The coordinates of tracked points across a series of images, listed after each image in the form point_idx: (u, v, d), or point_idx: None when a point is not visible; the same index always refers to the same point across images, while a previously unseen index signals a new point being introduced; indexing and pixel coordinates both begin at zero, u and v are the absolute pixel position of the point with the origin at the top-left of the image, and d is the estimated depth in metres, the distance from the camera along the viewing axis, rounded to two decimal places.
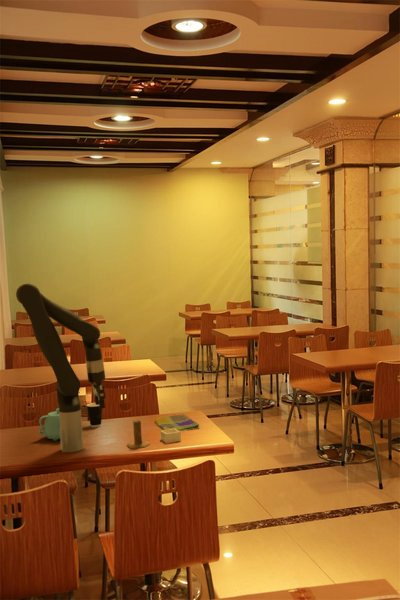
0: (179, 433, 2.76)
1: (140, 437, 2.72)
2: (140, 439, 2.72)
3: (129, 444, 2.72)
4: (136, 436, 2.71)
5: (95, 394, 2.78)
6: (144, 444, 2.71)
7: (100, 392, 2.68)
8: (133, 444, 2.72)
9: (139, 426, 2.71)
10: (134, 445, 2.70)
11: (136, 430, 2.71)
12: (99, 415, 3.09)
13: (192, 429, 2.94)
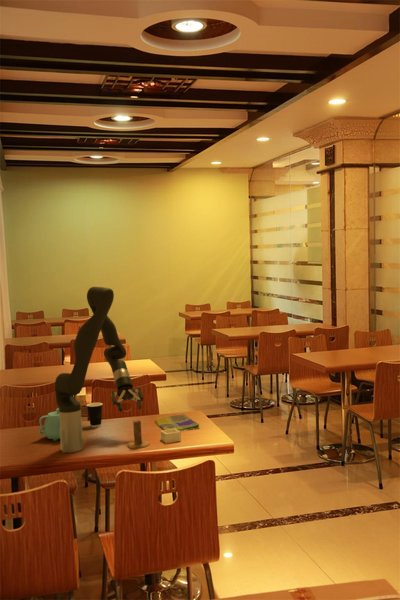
0: (179, 433, 2.76)
1: (140, 437, 2.72)
2: (140, 439, 2.72)
3: (129, 444, 2.72)
4: (136, 436, 2.71)
5: (120, 400, 2.82)
6: (144, 444, 2.71)
7: None
8: (133, 444, 2.72)
9: (139, 426, 2.71)
10: (134, 445, 2.70)
11: (136, 430, 2.71)
12: (99, 415, 3.09)
13: (192, 429, 2.94)
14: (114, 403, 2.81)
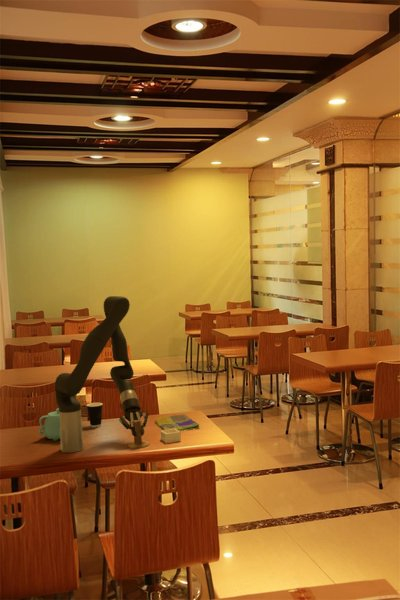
0: (179, 433, 2.76)
1: (140, 437, 2.72)
2: (140, 439, 2.72)
3: (129, 444, 2.72)
4: (136, 436, 2.71)
5: None
6: (144, 444, 2.71)
7: None
8: (133, 444, 2.72)
9: (139, 426, 2.71)
10: (134, 445, 2.70)
11: (136, 430, 2.71)
12: (99, 415, 3.09)
13: (192, 429, 2.94)
14: (128, 427, 2.72)
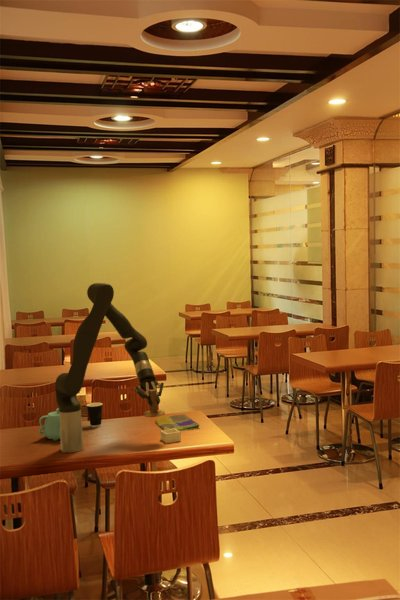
0: (179, 433, 2.76)
1: (156, 406, 2.74)
2: (156, 408, 2.74)
3: (145, 413, 2.75)
4: (152, 405, 2.74)
5: None
6: (160, 413, 2.74)
7: (162, 388, 2.79)
8: (149, 413, 2.75)
9: (155, 395, 2.74)
10: (150, 414, 2.73)
11: (152, 399, 2.74)
12: (99, 415, 3.09)
13: (192, 429, 2.94)
14: (143, 397, 2.75)
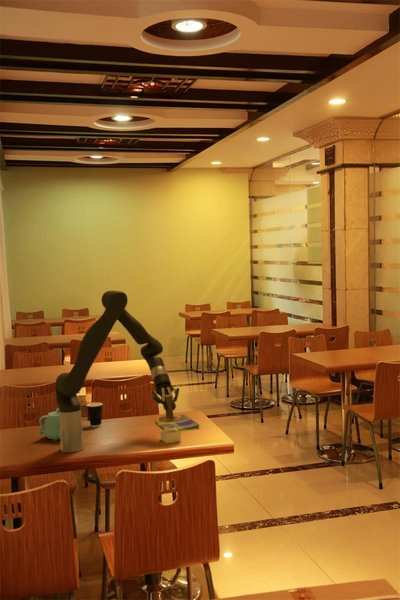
0: (179, 433, 2.76)
1: (171, 411, 2.77)
2: (171, 413, 2.77)
3: (161, 418, 2.77)
4: (168, 410, 2.76)
5: None
6: (175, 418, 2.76)
7: None
8: (165, 418, 2.77)
9: (170, 400, 2.76)
10: (166, 419, 2.75)
11: (168, 404, 2.76)
12: (99, 415, 3.09)
13: (192, 429, 2.94)
14: (159, 402, 2.77)
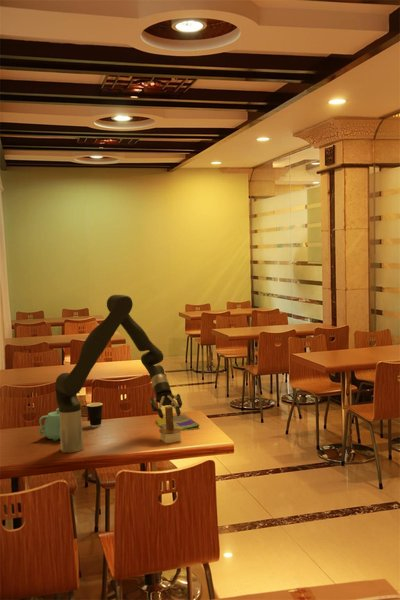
0: (179, 433, 2.76)
1: (172, 423, 2.77)
2: (172, 425, 2.77)
3: (161, 430, 2.78)
4: (168, 422, 2.76)
5: None
6: (176, 430, 2.76)
7: None
8: (165, 430, 2.77)
9: (171, 412, 2.77)
10: (166, 431, 2.76)
11: (168, 416, 2.76)
12: (99, 415, 3.09)
13: (192, 429, 2.94)
14: (154, 410, 2.77)
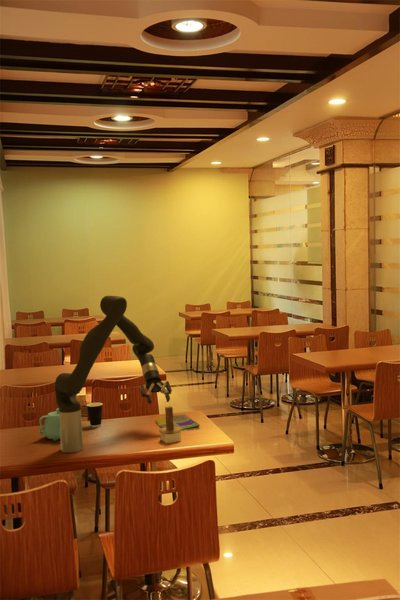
0: (179, 433, 2.76)
1: (172, 423, 2.77)
2: (172, 425, 2.77)
3: (161, 430, 2.78)
4: (168, 422, 2.76)
5: (149, 393, 2.90)
6: (176, 430, 2.76)
7: None
8: (165, 430, 2.77)
9: (171, 412, 2.77)
10: (166, 431, 2.76)
11: (168, 416, 2.76)
12: (99, 415, 3.09)
13: (192, 429, 2.94)
14: (143, 395, 2.89)
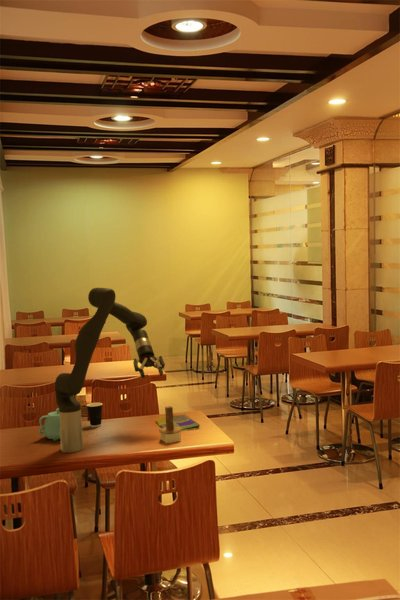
0: (179, 433, 2.76)
1: (172, 423, 2.77)
2: (172, 425, 2.77)
3: (161, 430, 2.78)
4: (168, 422, 2.76)
5: (142, 367, 2.92)
6: (176, 430, 2.76)
7: None
8: (165, 430, 2.77)
9: (171, 412, 2.77)
10: (166, 431, 2.76)
11: (168, 416, 2.76)
12: (99, 415, 3.09)
13: (192, 429, 2.94)
14: (136, 370, 2.91)
